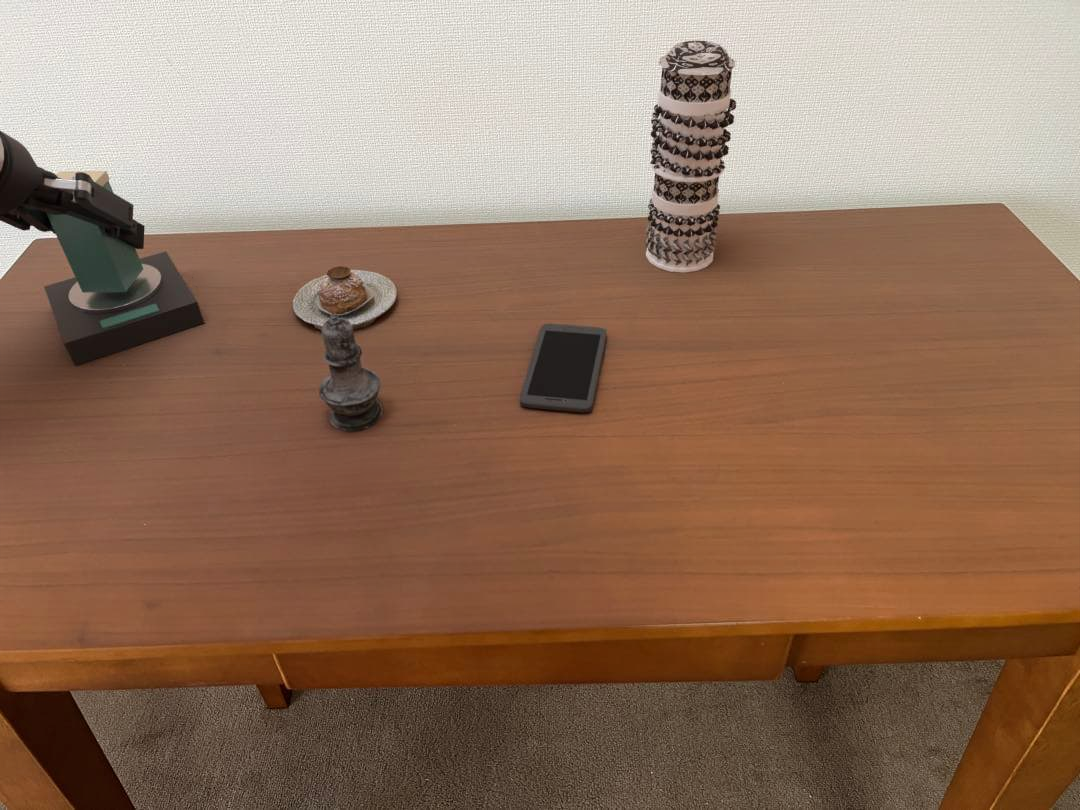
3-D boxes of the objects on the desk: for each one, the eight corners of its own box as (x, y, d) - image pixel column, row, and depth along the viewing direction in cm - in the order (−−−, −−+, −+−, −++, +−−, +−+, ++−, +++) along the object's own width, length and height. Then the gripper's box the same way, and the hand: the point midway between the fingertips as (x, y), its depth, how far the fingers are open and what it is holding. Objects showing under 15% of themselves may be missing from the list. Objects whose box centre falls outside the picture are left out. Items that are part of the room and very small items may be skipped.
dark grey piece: (333, 440, 78) (306, 338, 71) (320, 404, 82) (294, 304, 75) (393, 423, 80) (373, 321, 72) (377, 388, 84) (357, 289, 76)
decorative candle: (722, 273, 99) (751, 60, 83) (646, 275, 100) (660, 62, 83) (711, 236, 106) (735, 33, 90) (639, 238, 107) (651, 35, 90)
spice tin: (126, 292, 92) (84, 192, 84) (81, 293, 92) (35, 192, 84) (144, 268, 96) (106, 170, 88) (101, 269, 96) (59, 171, 88)
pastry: (276, 303, 97) (267, 270, 94) (363, 267, 103) (357, 234, 100) (327, 347, 90) (318, 312, 87) (417, 305, 96) (412, 271, 93)
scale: (75, 366, 89) (63, 342, 87) (54, 307, 98) (43, 284, 96) (204, 323, 94) (196, 299, 92) (173, 271, 103) (165, 249, 101)
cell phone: (607, 332, 90) (607, 327, 90) (591, 414, 80) (591, 408, 79) (542, 327, 91) (541, 322, 91) (517, 407, 81) (517, 401, 81)
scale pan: (79, 324, 89) (76, 319, 89) (63, 284, 96) (61, 280, 96) (172, 295, 93) (170, 290, 93) (151, 258, 100) (149, 254, 100)
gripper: (-136, 204, 71) (38, 270, 95) (65, 201, 71) (192, 268, 94) (-130, 121, 72) (42, 207, 95) (70, 117, 71) (194, 205, 94)
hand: (116, 237), depth 94 cm, fingers closed on spice tin, 5 cm apart
